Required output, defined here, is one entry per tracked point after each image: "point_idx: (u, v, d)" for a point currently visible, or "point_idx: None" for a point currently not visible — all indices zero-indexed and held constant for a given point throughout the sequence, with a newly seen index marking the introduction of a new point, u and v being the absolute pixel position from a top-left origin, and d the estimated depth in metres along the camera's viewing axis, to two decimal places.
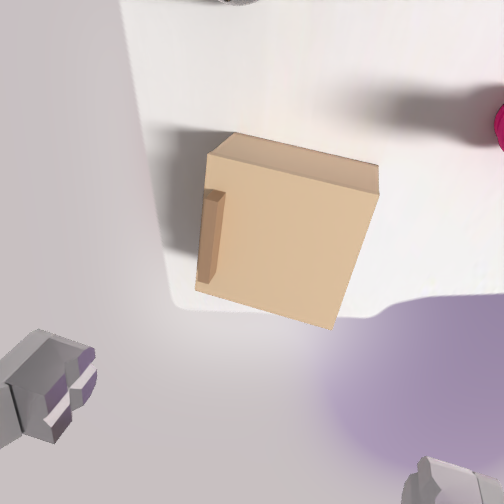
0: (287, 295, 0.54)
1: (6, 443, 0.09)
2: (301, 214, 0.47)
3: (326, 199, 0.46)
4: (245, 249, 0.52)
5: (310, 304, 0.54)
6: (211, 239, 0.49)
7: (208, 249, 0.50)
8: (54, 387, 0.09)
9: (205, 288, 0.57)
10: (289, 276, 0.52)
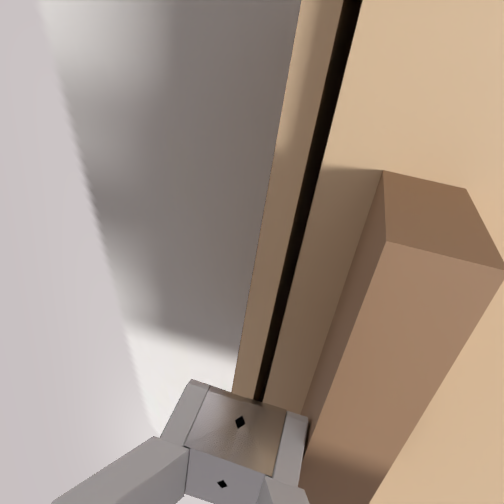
0: None
1: None
2: None
3: None
4: (485, 455, 0.11)
5: None
6: (370, 476, 0.08)
7: None
8: (233, 449, 0.08)
9: None
10: None
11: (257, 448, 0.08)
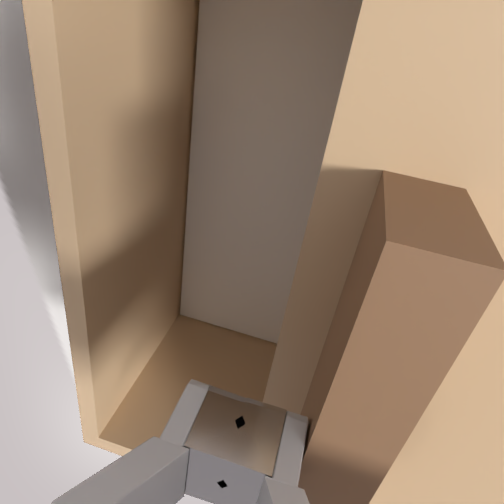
0: None
1: None
2: None
3: None
4: (485, 455, 0.11)
5: None
6: (370, 475, 0.08)
7: None
8: (233, 449, 0.08)
9: None
10: None
11: (257, 448, 0.08)
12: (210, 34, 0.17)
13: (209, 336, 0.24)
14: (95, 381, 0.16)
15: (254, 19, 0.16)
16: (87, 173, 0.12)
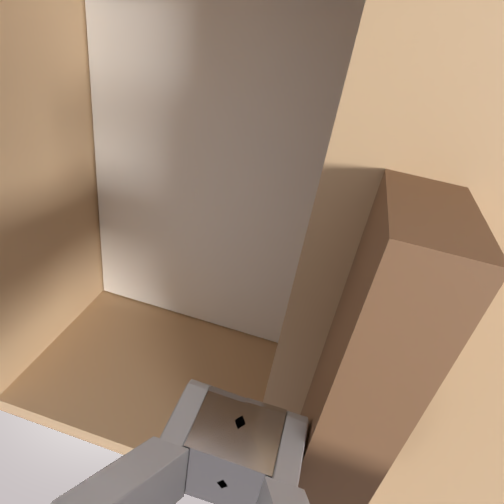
0: None
1: None
2: None
3: None
4: (485, 454, 0.11)
5: None
6: (371, 474, 0.08)
7: None
8: (233, 449, 0.08)
9: None
10: None
11: (257, 448, 0.08)
12: (97, 10, 0.18)
13: (129, 310, 0.25)
14: None
15: None
16: None
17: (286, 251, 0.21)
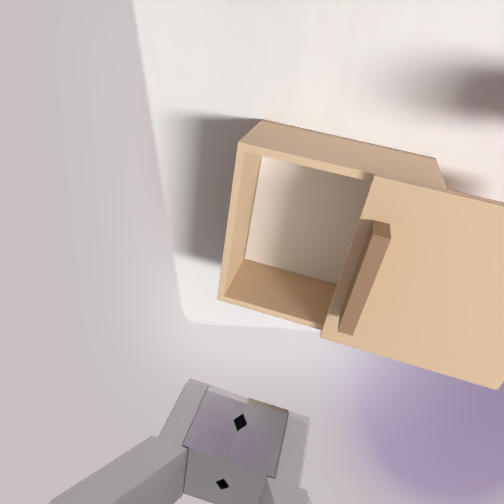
0: (445, 348, 0.43)
1: None
2: (491, 253, 0.37)
3: None
4: (400, 292, 0.41)
5: (475, 359, 0.43)
6: (370, 284, 0.38)
7: (363, 295, 0.39)
8: (231, 449, 0.08)
9: (334, 335, 0.47)
10: (453, 326, 0.42)
11: (259, 449, 0.08)
12: None
13: (258, 267, 0.55)
14: (227, 271, 0.47)
15: None
16: (239, 202, 0.43)
17: (333, 239, 0.52)
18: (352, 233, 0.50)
